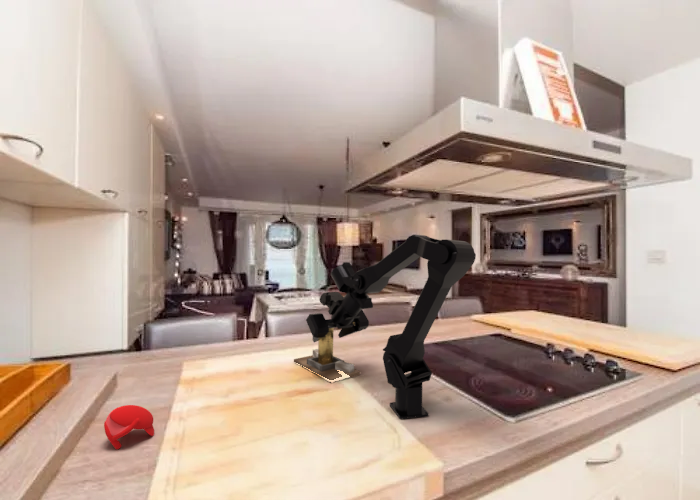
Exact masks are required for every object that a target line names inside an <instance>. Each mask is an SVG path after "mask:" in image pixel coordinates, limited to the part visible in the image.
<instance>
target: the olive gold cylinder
mask: <svg viewBox="0 0 700 500" xmlns="http://www.w3.org/2000/svg"><path fill="white" fill-rule="evenodd" d="M334 329H335V328H330V329H329V332H328V334H326V337H324V338H322V339H320V340H319V341H317V342H318V345H317V347H318V348H317V349H318V363H319V364H321V365H325V364H329V363H333V356H334Z"/></svg>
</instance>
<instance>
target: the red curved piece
mask: <svg viewBox="0 0 700 500" xmlns="http://www.w3.org/2000/svg"><path fill="white" fill-rule="evenodd" d="M103 423H104V424H103V428H104V429H103V430H104V433H105V436H106V438H107V439H108V441H109V442H110V444H111V445H112V446H113V448H114V449H115V450H120V448H121V447H122V444H121V442H120V441H119V439H121V438H123V437H124V436H126V435H128V434H129V433H131V432H132V431H133V430H144V432H146V433H147V434H148V435H149V436H150V437H153V436H154V435H155V428H154V426H153V424H154V415H153V414H152V413H151V412H150V410H148V409H147V408H145V407H143V406H140V405H135V404H127V405H122V406H119V407H116V408H114V409H113V410H111V411H110V412H109V413H108V415H107V417H106V420H105V421H104V422H103Z"/></svg>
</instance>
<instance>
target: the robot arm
mask: <svg viewBox="0 0 700 500" xmlns="http://www.w3.org/2000/svg"><path fill="white" fill-rule="evenodd" d="M419 258H422V259H425V260H427V264H426V265H427V279H426V281H425V284H424V286H423V288H422V290H421V291H420V295H419V296H418V298H417V300H416V303H415V305H414V307H413V309H412V311H411V313H410V316H409V318H408V320H407V322H406V324H405V326H404V329H403V331H402V332H401V333H398V334H392V335H390V336H389V337H388V339H387V342H386V345H385V346H384V348H382V351H383V356H382V360H383V367H384V371H385V376H386V380H387V384H390V385H391V386H392V388H394V389H395V392H394V393H395V399H394V401H393V402H392V401H391V402H389V406H390V407H391V409H392V410H393V411H394V413H395V414H396V415H397V416H398V418H399V419H400V420H405V419H412V418H424V417H429V414H430V413H429V412H428V411H427V410H426V409H425V408H424V407H423V383H425V382H429V381H430V380H431V378H432V374H433V372H432V370H431V368H430V367H429V366H428V364H427V363H426V361H425V360H424V356H425V343H424V342H425V339H426V338H427V336H428V334H429V332H430V330H431V328H432V326H433V324H434V322H435V320H436V318H437V316H438V314H439V312H440V310H441V308H442V306H443V305H444V302H445V300H446V298H447V297H448V294H449V293H450V290H451V289H452V287H453V286H454V285H455V284H456V283H457V282H458V281H460V280H462V278H463V277H464V276H465V275H466V274H467V273H468V271H469V270H470V269H471V267H473V265H474V263H475V261H476V253H475V249H474V248H473V245H472V244H471V243H469V242H468V241H464V240H455V239H437V238H433V237H430V236H427V235H424V234H423V235H422V234H412V235H409V236H408V237H407V238H406V240H405V241H404V242H403V243H402V244H400V245H399V246H398V247H396V248H395V249H394V250H392V251H391V252H390V253H388V254H387V255H386V256H385V257H383V258H382V259H381V260H380V261H378V262H377V263H375V264H373V265H369V266H366V267H364V268H361V269H359V270H357V271H355V270H354V269H353V267H352V265H351V262H347V261H345V262H342V264H340V265H338V266H336V267H335V268H334V269H332V270H331V272H330V276H331V278H332V280H333V281H334V284H335V286H336V287H337V289H338V291H339V292H338V291H327V292H323V293H322V294H321V295H320V296H319V302H320V304H322V305H323V306H326V307H327V308H328V310H327V312H328V314H329V315H331V319H330V318H329V319H326V318H325V316H324V313H321V312H316V313H309V314H308V316H307V318H306V319H305V321H306V323H307V325H308V328H309V331H310V332H311V335H312V341H313V343H316V342H318V341H319V340H320V339H322V338H324V337H326V334H328V332H329V329H330V328H334V329H338V330H340V331H339V333H338V338H339V339H340V338H344V337H348V336H349V335H353V334H356V333H359V332H361V331H363V330H366V329H368V327H369V326H370V321H369V319H368V317H367V316H366V313H365V311H364V310H365V309H366V310H367V309H368V310H369V309H373V308H374V303H373V301H372V297H370V296H369V294H375V293H376V294H378V293H380V292H382V291H383V289H385V288H386V287H387V286H388V284H389V281H390V279H391V278H392V277H393V276H395V275H396V274H398V273H399V272H401V271H402V270H404V269H405V268H406V267H408V266H409V265H411V264H412V263H414V262H415V261H417V260H419ZM341 293H344V294H345V295H344V296H343V295H342V294H341Z"/></svg>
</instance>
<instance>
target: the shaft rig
mask: <svg viewBox="0 0 700 500" xmlns="http://www.w3.org/2000/svg"><path fill="white" fill-rule="evenodd" d="M294 362H296V363H298V364H300V365H302V366H304V367H306V368H308V369H310V370H311V371H313V372H315V373H317V374H319V375H321V376H323V377H325V378H327V379H329V380H334V379H336V378H339V377H342V375H341V374H339V373H338V372H339V371H337V370H340V371H343V372H344V373H345V374H347V375H349V376H350V377H351V378H354V377H357V376H360V375H361V371H360V370H358V369H355V364H354V363H350V362H346V361H345V360H343V359H341V358H339V357H336V356H335V355H333V363H329V364H325V365H321V364H319V363H318V348H317V349H316V348H315V349H312V355H308V356H303V357H299V358H298V357H297V358H294V359H293V363H294ZM296 363H295V364H296ZM298 364H297V365H298Z"/></svg>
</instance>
